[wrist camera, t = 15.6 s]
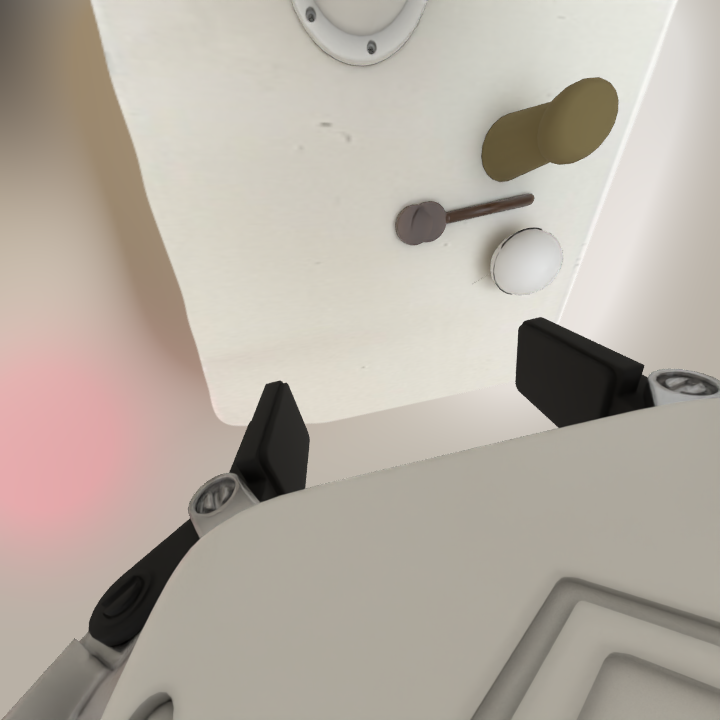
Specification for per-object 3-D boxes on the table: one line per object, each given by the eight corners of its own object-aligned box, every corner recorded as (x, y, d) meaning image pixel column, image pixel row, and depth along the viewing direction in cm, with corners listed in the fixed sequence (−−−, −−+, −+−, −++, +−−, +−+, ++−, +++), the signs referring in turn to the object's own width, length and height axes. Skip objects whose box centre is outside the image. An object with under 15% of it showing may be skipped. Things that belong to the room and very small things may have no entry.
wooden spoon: (397, 247, 34) (400, 248, 32) (393, 209, 32) (395, 209, 30) (528, 218, 33) (534, 218, 32) (531, 177, 31) (538, 176, 30)
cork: (503, 100, 28) (594, 39, 18) (547, 130, 29) (653, 89, 20) (471, 166, 30) (536, 144, 21) (513, 191, 32) (593, 181, 22)
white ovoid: (538, 221, 34) (588, 222, 27) (530, 281, 37) (572, 295, 31) (458, 236, 34) (489, 241, 27) (458, 295, 37) (485, 312, 31)
